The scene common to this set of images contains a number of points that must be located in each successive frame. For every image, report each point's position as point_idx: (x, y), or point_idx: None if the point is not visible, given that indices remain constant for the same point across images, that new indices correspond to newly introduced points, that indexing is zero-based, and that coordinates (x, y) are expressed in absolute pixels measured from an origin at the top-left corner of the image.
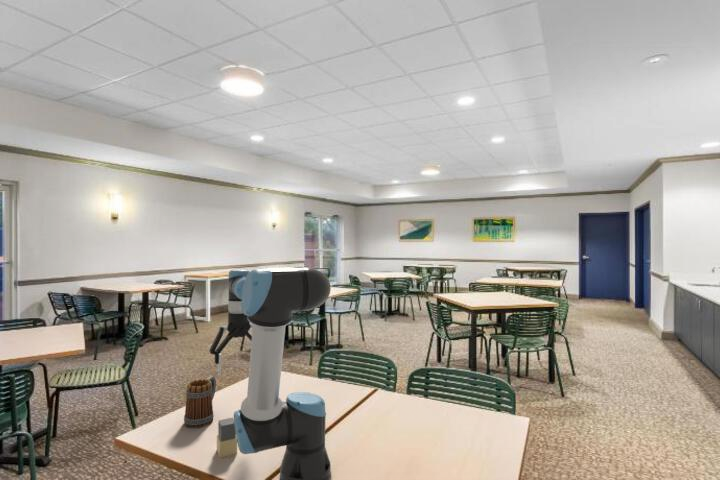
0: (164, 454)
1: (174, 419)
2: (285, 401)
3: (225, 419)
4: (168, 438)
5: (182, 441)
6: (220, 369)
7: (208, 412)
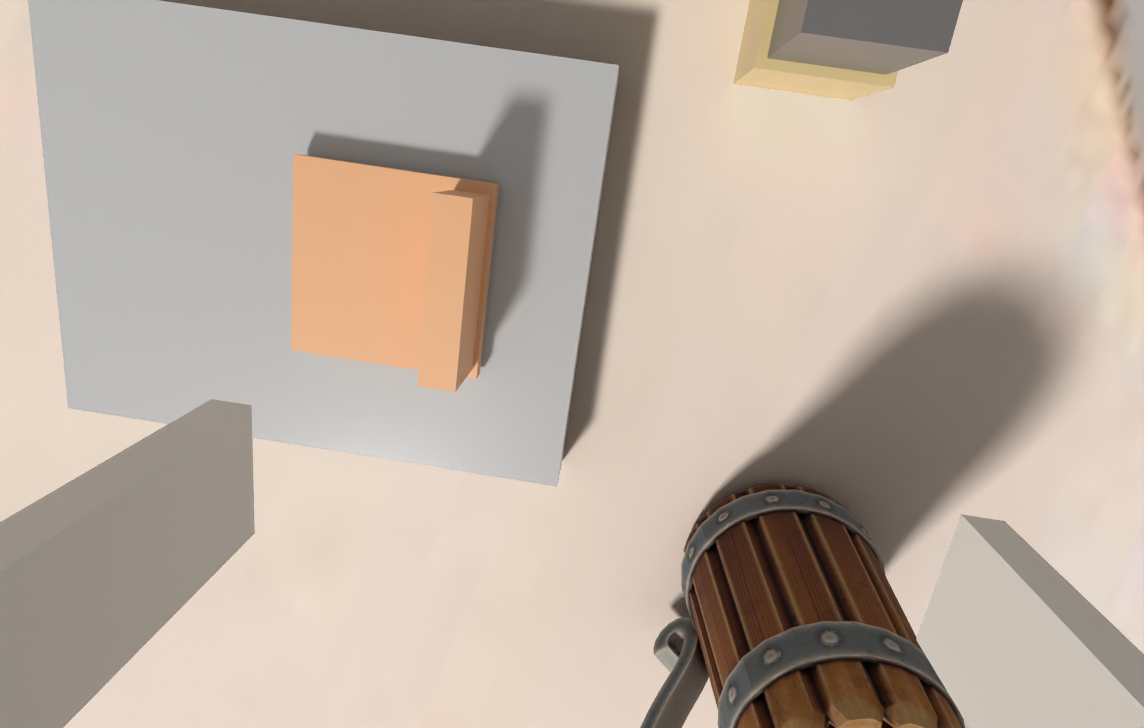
0: (1139, 266)
1: None
2: (172, 414)
3: (881, 28)
4: (1020, 462)
5: (971, 368)
6: (1021, 565)
7: (753, 538)
